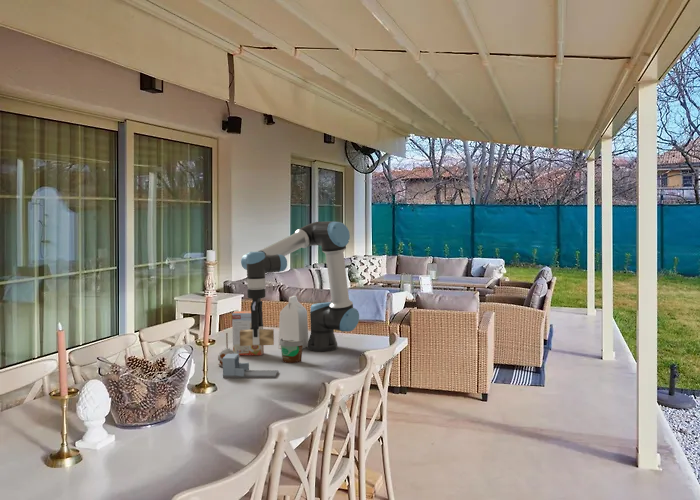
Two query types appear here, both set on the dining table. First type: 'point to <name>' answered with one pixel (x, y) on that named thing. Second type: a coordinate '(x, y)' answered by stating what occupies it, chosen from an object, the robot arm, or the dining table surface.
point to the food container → (291, 351)
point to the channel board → (256, 374)
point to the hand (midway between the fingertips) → (257, 343)
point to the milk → (293, 322)
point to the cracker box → (243, 322)
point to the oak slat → (264, 337)
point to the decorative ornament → (224, 352)
